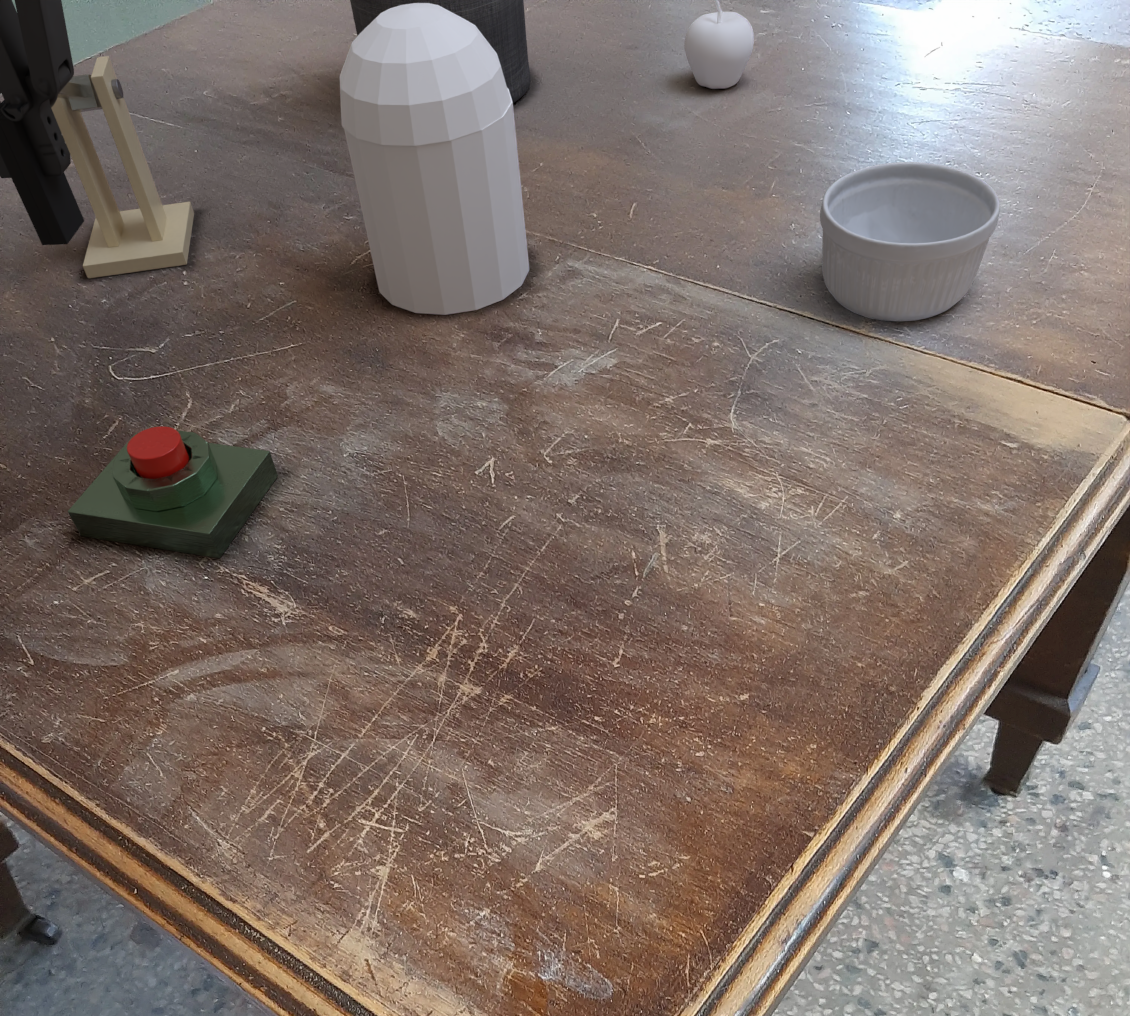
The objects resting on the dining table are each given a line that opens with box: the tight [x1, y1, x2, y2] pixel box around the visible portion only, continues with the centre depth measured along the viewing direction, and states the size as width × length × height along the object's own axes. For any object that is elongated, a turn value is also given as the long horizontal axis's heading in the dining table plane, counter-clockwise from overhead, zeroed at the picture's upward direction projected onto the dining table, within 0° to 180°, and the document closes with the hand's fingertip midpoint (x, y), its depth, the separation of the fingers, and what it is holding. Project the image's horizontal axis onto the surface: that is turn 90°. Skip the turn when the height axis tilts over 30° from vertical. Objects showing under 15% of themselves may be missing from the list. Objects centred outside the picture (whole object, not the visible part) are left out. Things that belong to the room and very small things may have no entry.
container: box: [339, 3, 530, 316], centre depth 86 cm, size 14×13×20 cm
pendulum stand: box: [51, 55, 195, 279], centre depth 95 cm, size 10×9×15 cm
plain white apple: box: [684, 0, 755, 90], centre depth 111 cm, size 7×7×8 cm
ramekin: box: [819, 161, 1001, 322], centre depth 85 cm, size 13×13×7 cm
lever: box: [49, 73, 103, 113], centre depth 85 cm, size 17×4×4 cm, turn 8°
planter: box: [349, 0, 532, 104], centre depth 112 cm, size 18×18×16 cm
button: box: [127, 425, 189, 479], centre depth 73 cm, size 4×4×2 cm
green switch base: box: [67, 429, 279, 559], centre depth 75 cm, size 11×9×4 cm
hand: (63, 232), depth 61 cm, fingers closed
